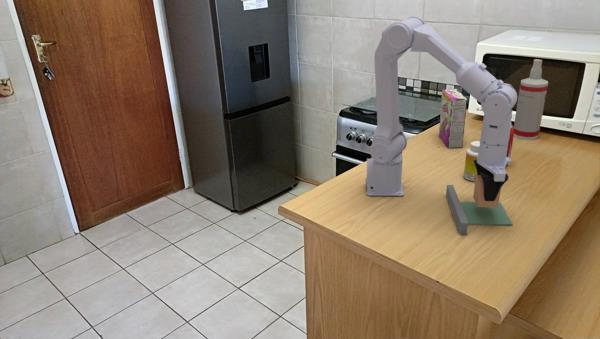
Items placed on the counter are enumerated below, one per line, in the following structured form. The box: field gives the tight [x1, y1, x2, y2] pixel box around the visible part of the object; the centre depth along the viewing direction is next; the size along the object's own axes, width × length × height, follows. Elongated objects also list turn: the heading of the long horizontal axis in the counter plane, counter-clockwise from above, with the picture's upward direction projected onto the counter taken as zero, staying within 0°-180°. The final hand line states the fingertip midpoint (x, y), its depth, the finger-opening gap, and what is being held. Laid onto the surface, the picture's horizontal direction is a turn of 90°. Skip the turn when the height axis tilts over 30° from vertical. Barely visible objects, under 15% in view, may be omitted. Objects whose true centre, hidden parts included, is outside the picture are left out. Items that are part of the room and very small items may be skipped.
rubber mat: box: [460, 201, 513, 227], centre depth 104 cm, size 10×10×1 cm
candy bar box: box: [438, 88, 468, 149], centre depth 141 cm, size 11×5×16 cm, turn 179°
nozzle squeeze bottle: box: [512, 58, 549, 141], centre depth 140 cm, size 8×8×25 cm
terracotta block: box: [473, 175, 502, 207], centre depth 102 cm, size 4×4×6 cm
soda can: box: [506, 124, 514, 166], centre depth 125 cm, size 7×7×12 cm
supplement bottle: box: [463, 140, 480, 182], centre depth 119 cm, size 6×6×10 cm
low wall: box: [445, 184, 469, 236], centre depth 105 cm, size 2×18×3 cm, turn 173°
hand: (486, 194), depth 102 cm, fingers closed on terracotta block, 4 cm apart
